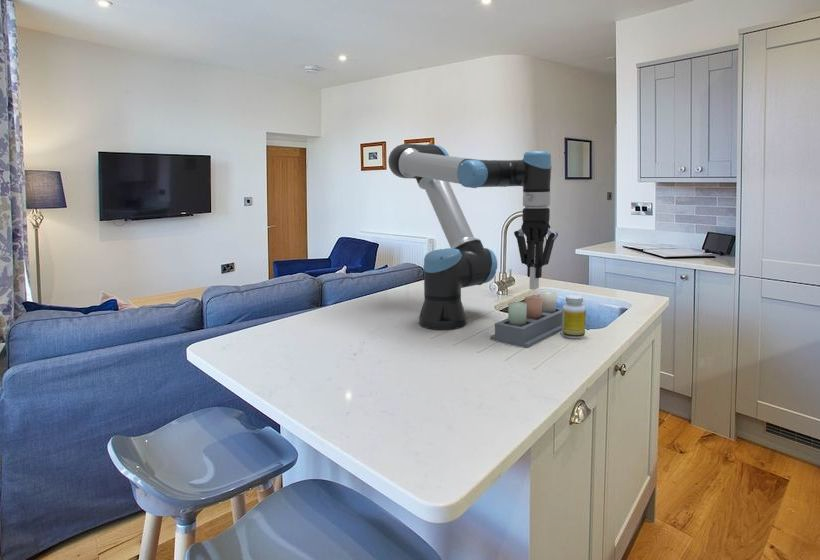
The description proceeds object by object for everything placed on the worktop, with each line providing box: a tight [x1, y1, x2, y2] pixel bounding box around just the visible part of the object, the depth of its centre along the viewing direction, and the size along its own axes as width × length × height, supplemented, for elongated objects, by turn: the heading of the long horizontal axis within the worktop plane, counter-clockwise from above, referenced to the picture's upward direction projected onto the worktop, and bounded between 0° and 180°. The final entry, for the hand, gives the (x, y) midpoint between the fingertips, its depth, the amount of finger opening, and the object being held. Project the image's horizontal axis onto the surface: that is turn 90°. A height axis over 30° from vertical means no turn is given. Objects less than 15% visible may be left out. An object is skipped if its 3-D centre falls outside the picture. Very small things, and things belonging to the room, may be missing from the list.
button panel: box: [489, 307, 562, 349], centre depth 149 cm, size 12×27×5 cm, turn 138°
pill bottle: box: [560, 294, 587, 340], centre depth 144 cm, size 6×6×12 cm
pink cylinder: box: [524, 295, 542, 320], centre depth 148 cm, size 5×5×6 cm
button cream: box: [538, 290, 557, 314], centre depth 155 cm, size 5×5×6 cm
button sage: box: [507, 301, 527, 327], centre depth 142 cm, size 5×5×6 cm
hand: (534, 288), depth 147 cm, fingers closed
